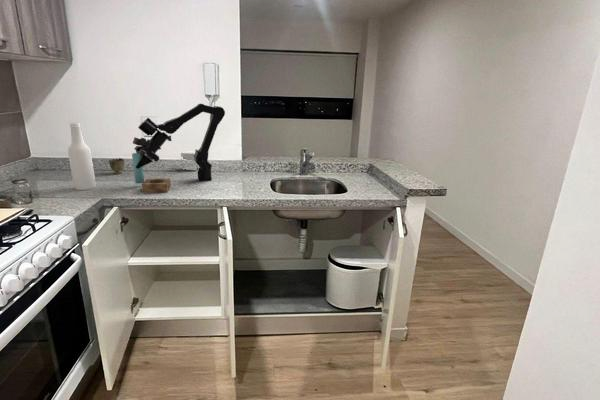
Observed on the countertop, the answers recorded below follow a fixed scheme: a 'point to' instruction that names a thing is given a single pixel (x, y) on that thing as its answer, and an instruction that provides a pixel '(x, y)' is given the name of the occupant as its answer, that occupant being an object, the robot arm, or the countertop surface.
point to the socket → (156, 185)
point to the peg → (138, 172)
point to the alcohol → (80, 160)
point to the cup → (117, 165)
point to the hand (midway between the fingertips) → (135, 167)
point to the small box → (188, 156)
